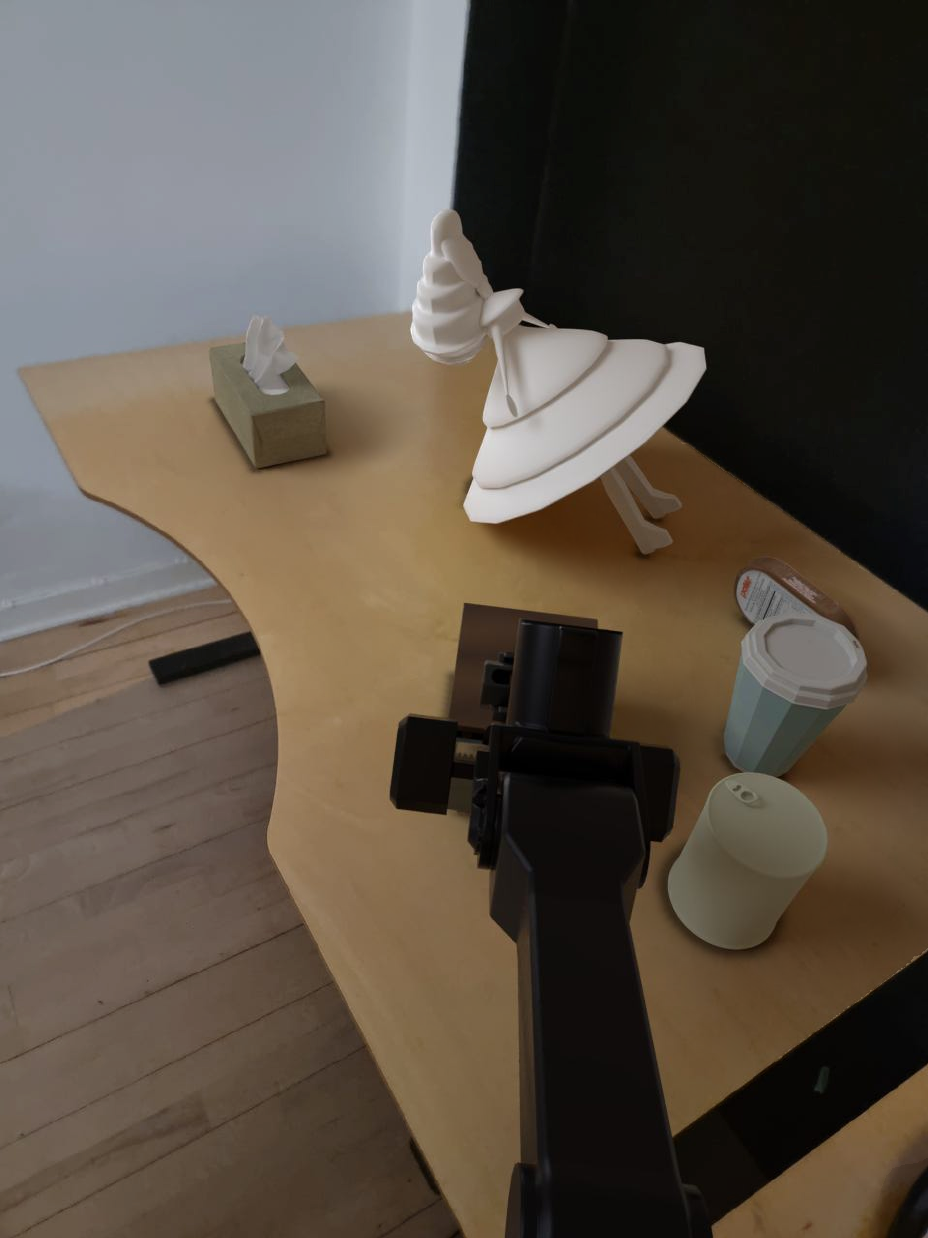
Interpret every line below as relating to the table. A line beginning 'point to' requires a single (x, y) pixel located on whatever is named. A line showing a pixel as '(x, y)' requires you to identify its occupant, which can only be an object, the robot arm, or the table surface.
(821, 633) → the disposable coffee cup
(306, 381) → the tissue box
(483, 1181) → the table surface
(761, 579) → the tin
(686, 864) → the can
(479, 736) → the drawer
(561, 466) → the figurine
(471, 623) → the cabinet
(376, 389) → the table surface
